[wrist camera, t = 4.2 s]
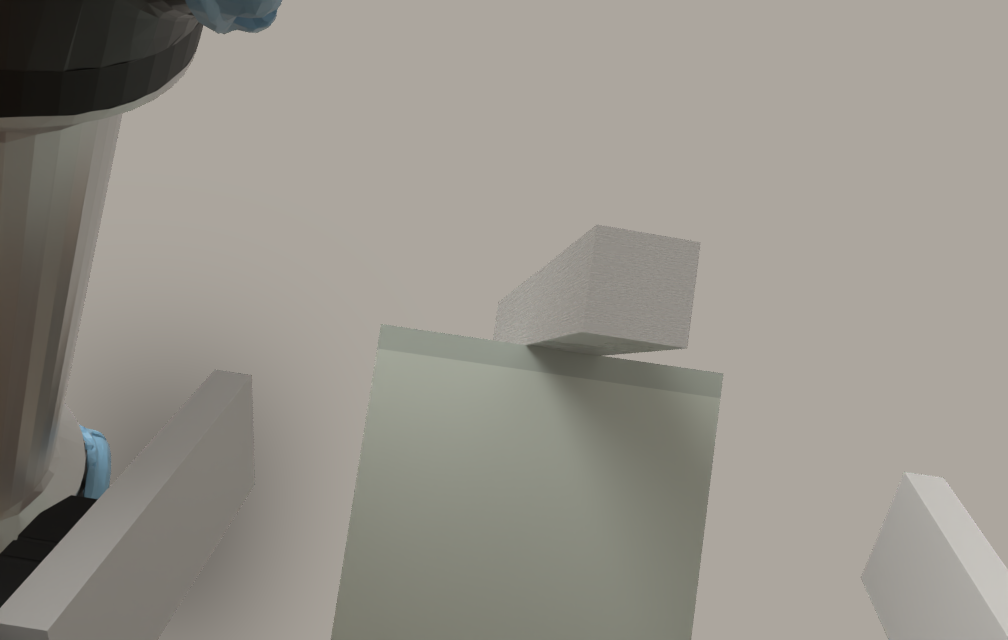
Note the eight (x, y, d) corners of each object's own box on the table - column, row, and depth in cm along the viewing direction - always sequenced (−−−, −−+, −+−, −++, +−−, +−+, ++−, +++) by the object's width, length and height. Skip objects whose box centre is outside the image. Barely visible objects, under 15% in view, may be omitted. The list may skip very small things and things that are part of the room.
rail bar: (687, 348, 22) (700, 242, 22) (582, 332, 21) (596, 224, 21) (541, 360, 45) (548, 310, 46) (491, 353, 45) (498, 302, 45)
